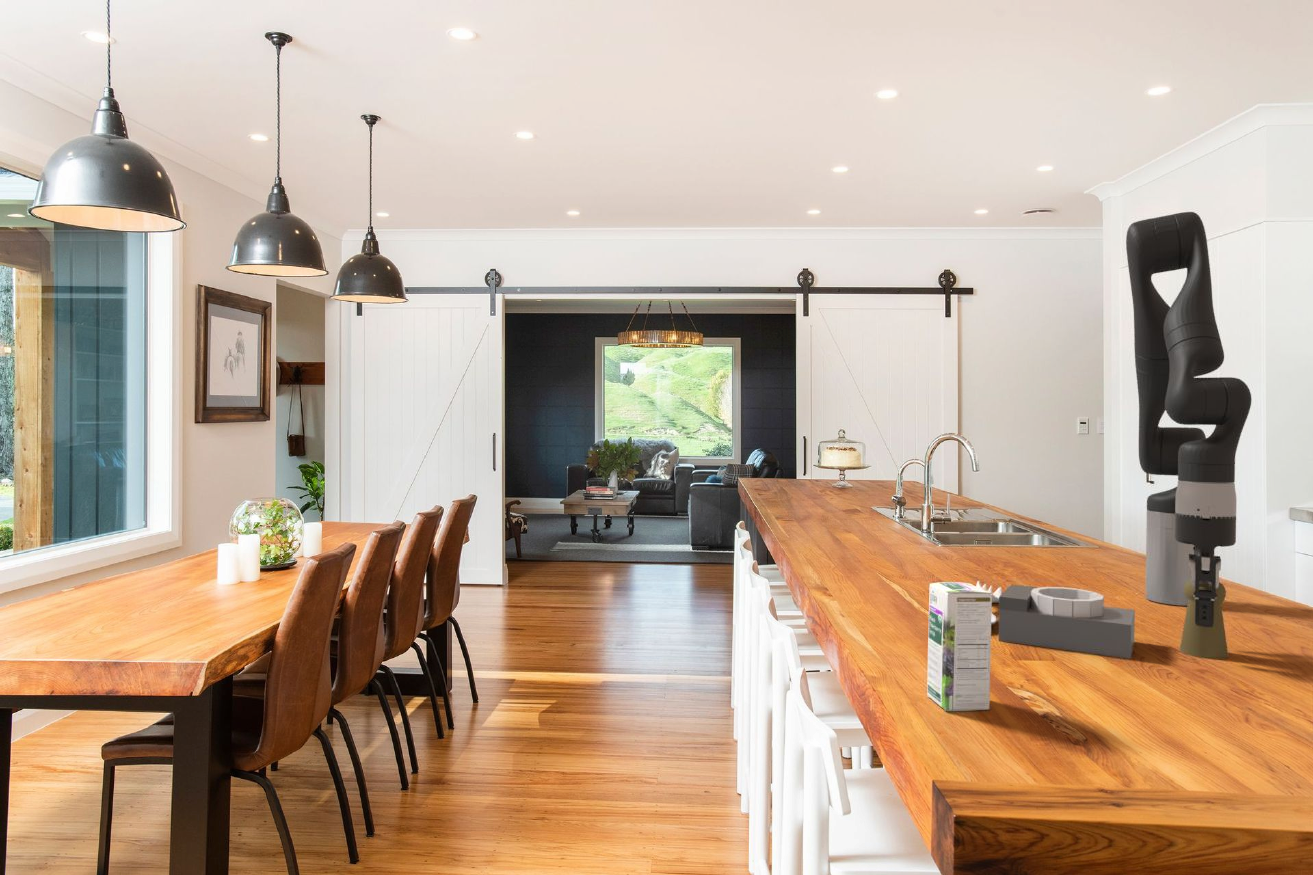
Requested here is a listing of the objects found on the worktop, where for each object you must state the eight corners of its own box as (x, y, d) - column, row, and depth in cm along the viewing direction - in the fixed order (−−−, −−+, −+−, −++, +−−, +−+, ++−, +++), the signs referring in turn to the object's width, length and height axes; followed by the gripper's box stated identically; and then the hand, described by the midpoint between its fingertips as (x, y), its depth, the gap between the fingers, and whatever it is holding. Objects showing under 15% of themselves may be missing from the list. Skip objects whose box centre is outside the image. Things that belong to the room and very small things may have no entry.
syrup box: (925, 695, 103) (926, 581, 102) (970, 694, 103) (971, 581, 103) (945, 712, 97) (946, 591, 96) (992, 710, 97) (993, 590, 97)
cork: (1236, 660, 118) (1237, 584, 117) (1190, 657, 119) (1191, 582, 118) (1216, 648, 123) (1217, 576, 123) (1172, 646, 125) (1173, 575, 124)
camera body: (1010, 625, 137) (1011, 581, 137) (1134, 641, 127) (1135, 593, 127) (998, 640, 128) (999, 593, 128) (1130, 659, 118) (1131, 607, 118)
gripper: (1175, 506, 129) (1174, 607, 129) (1175, 514, 117) (1173, 626, 117) (1233, 508, 125) (1231, 613, 125) (1239, 518, 113) (1237, 634, 113)
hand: (1203, 620), depth 121 cm, fingers open, 8 cm apart
